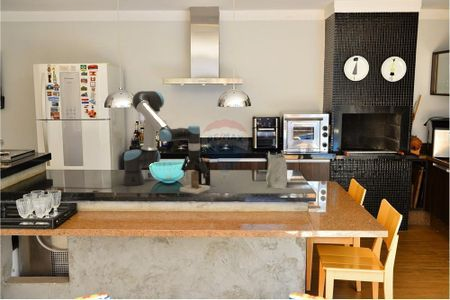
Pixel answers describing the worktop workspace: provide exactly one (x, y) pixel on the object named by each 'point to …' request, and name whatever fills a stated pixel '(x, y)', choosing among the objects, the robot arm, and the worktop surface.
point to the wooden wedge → (195, 179)
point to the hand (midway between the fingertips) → (194, 182)
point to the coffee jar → (207, 179)
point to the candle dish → (194, 189)
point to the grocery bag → (276, 171)
